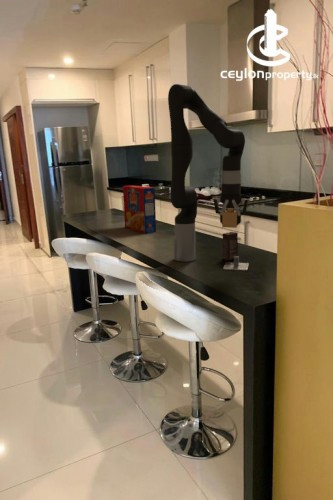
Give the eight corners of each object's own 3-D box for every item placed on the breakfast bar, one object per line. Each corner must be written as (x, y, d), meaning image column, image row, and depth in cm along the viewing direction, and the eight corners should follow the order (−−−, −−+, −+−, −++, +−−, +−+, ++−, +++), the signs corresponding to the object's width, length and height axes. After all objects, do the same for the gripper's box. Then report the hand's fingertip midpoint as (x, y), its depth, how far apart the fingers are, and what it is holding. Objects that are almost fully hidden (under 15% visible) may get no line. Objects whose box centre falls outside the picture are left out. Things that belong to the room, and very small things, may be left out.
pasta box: (124, 227, 263) (122, 186, 256) (135, 226, 267) (133, 185, 260) (145, 234, 240) (143, 188, 233) (156, 232, 244) (154, 187, 237)
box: (230, 256, 183) (231, 231, 180) (238, 258, 179) (238, 232, 176) (221, 258, 179) (222, 233, 176) (229, 260, 176) (229, 234, 173)
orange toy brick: (222, 227, 156) (222, 210, 154) (224, 224, 161) (224, 208, 159) (236, 227, 154) (236, 210, 152) (237, 225, 159) (238, 208, 158)
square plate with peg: (223, 269, 163) (223, 259, 162) (225, 263, 172) (225, 253, 171) (247, 270, 160) (247, 260, 159) (248, 264, 169) (249, 254, 168)
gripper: (211, 183, 152) (211, 225, 156) (248, 183, 148) (247, 226, 152) (214, 181, 159) (214, 222, 163) (250, 181, 155) (249, 223, 159)
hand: (230, 224), depth 157 cm, fingers closed on orange toy brick, 5 cm apart
